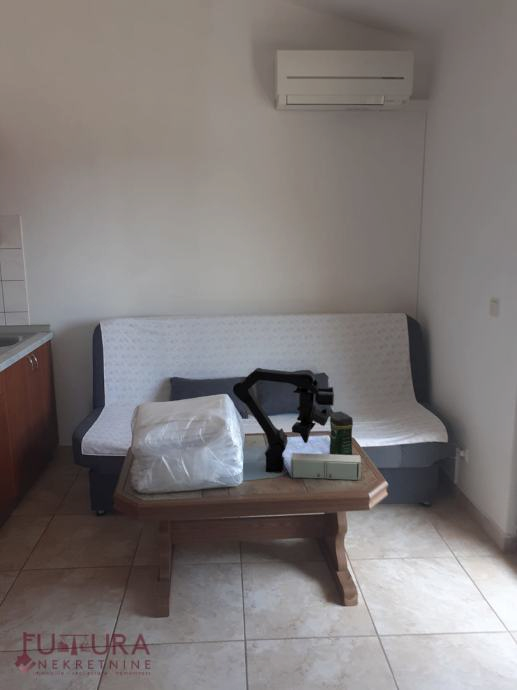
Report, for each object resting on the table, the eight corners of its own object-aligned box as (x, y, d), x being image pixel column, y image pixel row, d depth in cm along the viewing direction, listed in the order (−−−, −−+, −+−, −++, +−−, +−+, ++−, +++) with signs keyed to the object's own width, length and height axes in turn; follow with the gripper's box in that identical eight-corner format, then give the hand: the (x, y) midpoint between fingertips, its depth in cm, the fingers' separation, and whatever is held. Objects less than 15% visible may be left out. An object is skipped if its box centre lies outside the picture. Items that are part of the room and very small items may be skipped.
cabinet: (290, 479, 209) (290, 461, 208) (292, 469, 217) (292, 452, 216) (360, 482, 206) (361, 464, 204) (359, 472, 214) (360, 455, 212)
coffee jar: (355, 459, 225) (356, 416, 221) (337, 462, 222) (338, 419, 218) (343, 450, 234) (344, 408, 230) (326, 453, 231) (327, 411, 227)
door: (290, 478, 209) (290, 462, 208) (290, 476, 211) (290, 459, 210) (323, 480, 208) (324, 463, 206) (323, 477, 210) (324, 461, 208)
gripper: (321, 414, 198) (320, 454, 202) (332, 398, 215) (331, 436, 219) (291, 410, 202) (291, 450, 205) (304, 395, 219) (304, 432, 222)
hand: (305, 442), depth 213 cm, fingers closed
